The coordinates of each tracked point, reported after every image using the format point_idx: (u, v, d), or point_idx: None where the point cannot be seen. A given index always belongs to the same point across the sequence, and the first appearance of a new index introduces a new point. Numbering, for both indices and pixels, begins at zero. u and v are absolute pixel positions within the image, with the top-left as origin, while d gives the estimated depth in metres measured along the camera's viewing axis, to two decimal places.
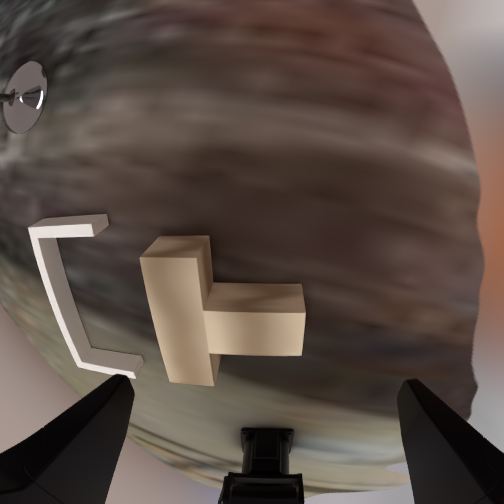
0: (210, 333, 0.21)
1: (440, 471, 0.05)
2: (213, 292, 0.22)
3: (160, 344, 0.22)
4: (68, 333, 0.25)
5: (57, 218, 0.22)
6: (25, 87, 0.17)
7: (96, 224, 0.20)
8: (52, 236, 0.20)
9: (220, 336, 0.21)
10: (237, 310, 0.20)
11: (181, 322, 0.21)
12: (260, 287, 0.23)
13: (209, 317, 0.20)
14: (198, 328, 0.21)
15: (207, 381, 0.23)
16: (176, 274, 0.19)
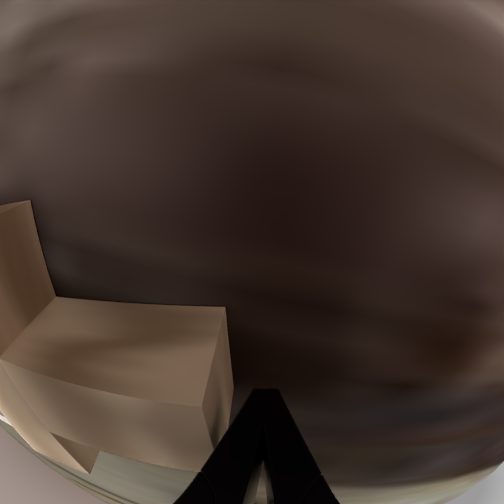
0: (30, 402, 0.07)
1: (269, 497, 0.05)
2: (41, 317, 0.09)
3: None
4: None
5: None
6: None
7: None
8: None
9: (47, 412, 0.07)
10: (46, 371, 0.06)
11: None
12: (128, 313, 0.09)
13: (13, 374, 0.06)
14: (11, 389, 0.07)
15: (76, 466, 0.09)
16: None
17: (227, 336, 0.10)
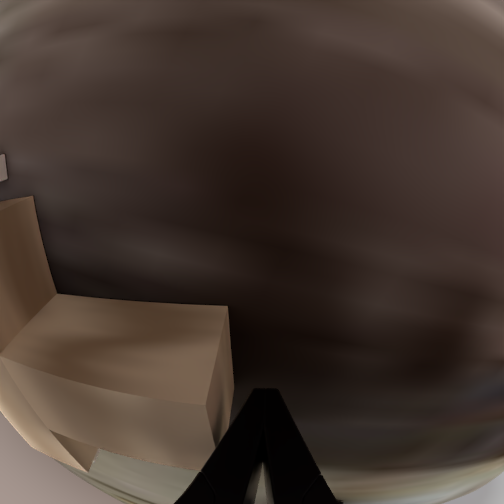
0: (30, 399, 0.07)
1: (268, 497, 0.05)
2: (42, 314, 0.09)
3: None
4: None
5: None
6: None
7: None
8: None
9: (47, 409, 0.07)
10: (47, 368, 0.06)
11: None
12: (130, 311, 0.09)
13: (13, 371, 0.06)
14: (11, 386, 0.07)
15: (74, 464, 0.09)
16: None
17: (229, 335, 0.10)
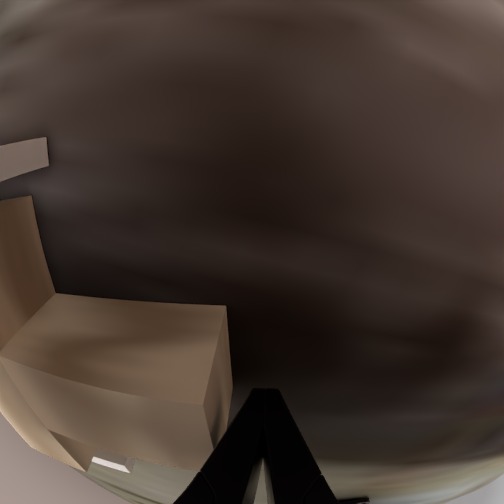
0: (28, 399, 0.07)
1: (269, 497, 0.05)
2: (40, 314, 0.08)
3: None
4: None
5: None
6: None
7: (9, 153, 0.06)
8: None
9: (45, 409, 0.07)
10: (45, 368, 0.06)
11: None
12: (128, 310, 0.09)
13: (11, 370, 0.06)
14: (10, 385, 0.07)
15: (73, 463, 0.09)
16: None
17: (227, 335, 0.10)
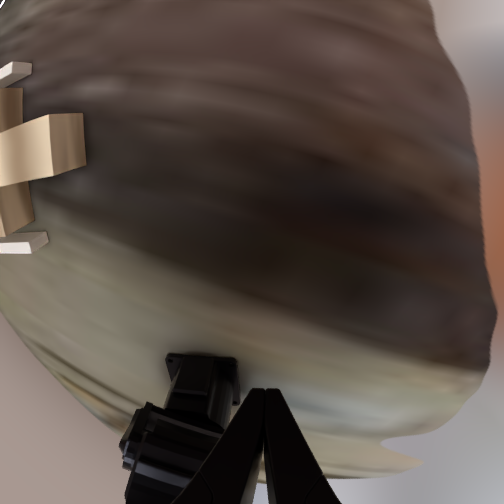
0: None
1: (270, 497, 0.05)
2: None
3: None
4: None
5: None
6: None
7: (17, 65, 0.14)
8: None
9: None
10: (8, 129, 0.14)
11: None
12: None
13: None
14: None
15: (0, 229, 0.17)
16: None
17: (82, 128, 0.17)
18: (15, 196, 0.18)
